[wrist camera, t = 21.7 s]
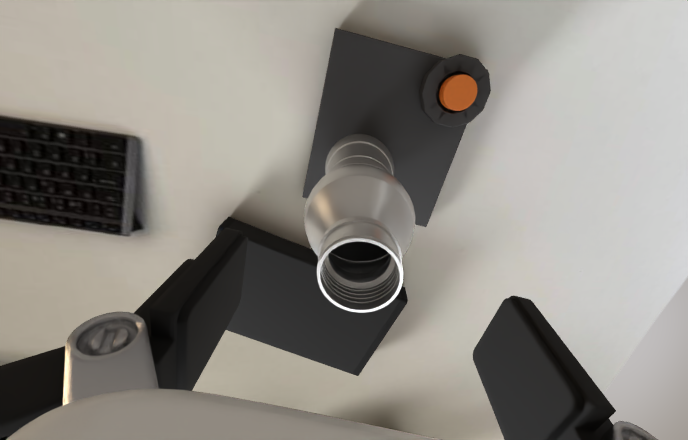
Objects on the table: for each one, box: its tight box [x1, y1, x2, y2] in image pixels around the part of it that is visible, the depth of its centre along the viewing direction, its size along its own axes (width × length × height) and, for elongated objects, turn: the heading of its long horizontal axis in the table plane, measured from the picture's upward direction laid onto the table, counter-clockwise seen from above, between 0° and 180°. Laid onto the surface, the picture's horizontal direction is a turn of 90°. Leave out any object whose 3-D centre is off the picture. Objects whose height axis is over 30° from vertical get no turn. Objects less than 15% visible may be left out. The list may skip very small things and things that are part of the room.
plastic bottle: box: [304, 134, 415, 313], centre depth 21 cm, size 6×7×20 cm
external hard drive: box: [216, 217, 408, 376], centre depth 38 cm, size 14×23×3 cm, turn 66°
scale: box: [303, 28, 491, 227], centre depth 29 cm, size 16×14×3 cm
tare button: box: [439, 74, 477, 111], centre depth 26 cm, size 3×3×2 cm
